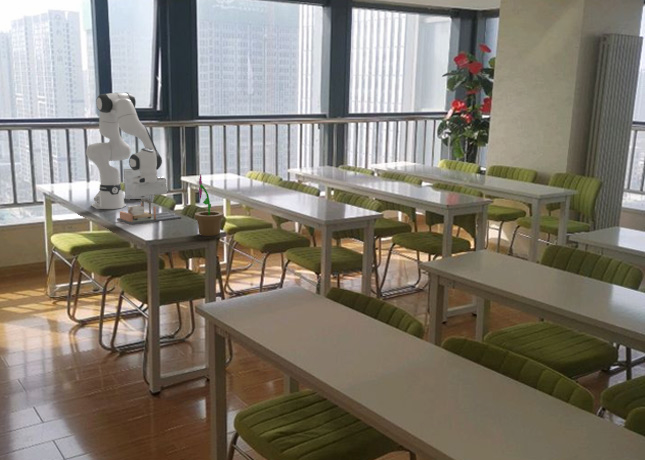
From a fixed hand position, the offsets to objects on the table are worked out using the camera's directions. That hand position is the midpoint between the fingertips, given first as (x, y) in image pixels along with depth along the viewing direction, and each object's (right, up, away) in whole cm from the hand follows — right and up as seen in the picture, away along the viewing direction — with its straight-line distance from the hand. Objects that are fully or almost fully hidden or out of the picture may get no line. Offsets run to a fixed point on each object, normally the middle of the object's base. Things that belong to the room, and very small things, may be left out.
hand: (149, 203), depth 391 cm
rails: (-1, -9, +1) cm, 9 cm away
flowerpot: (+38, -17, -34) cm, 54 cm away
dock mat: (-1, -9, +1) cm, 9 cm away
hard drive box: (-24, +5, +69) cm, 73 cm away
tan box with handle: (-5, -8, -3) cm, 10 cm away
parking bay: (-6, -9, -4) cm, 11 cm away
